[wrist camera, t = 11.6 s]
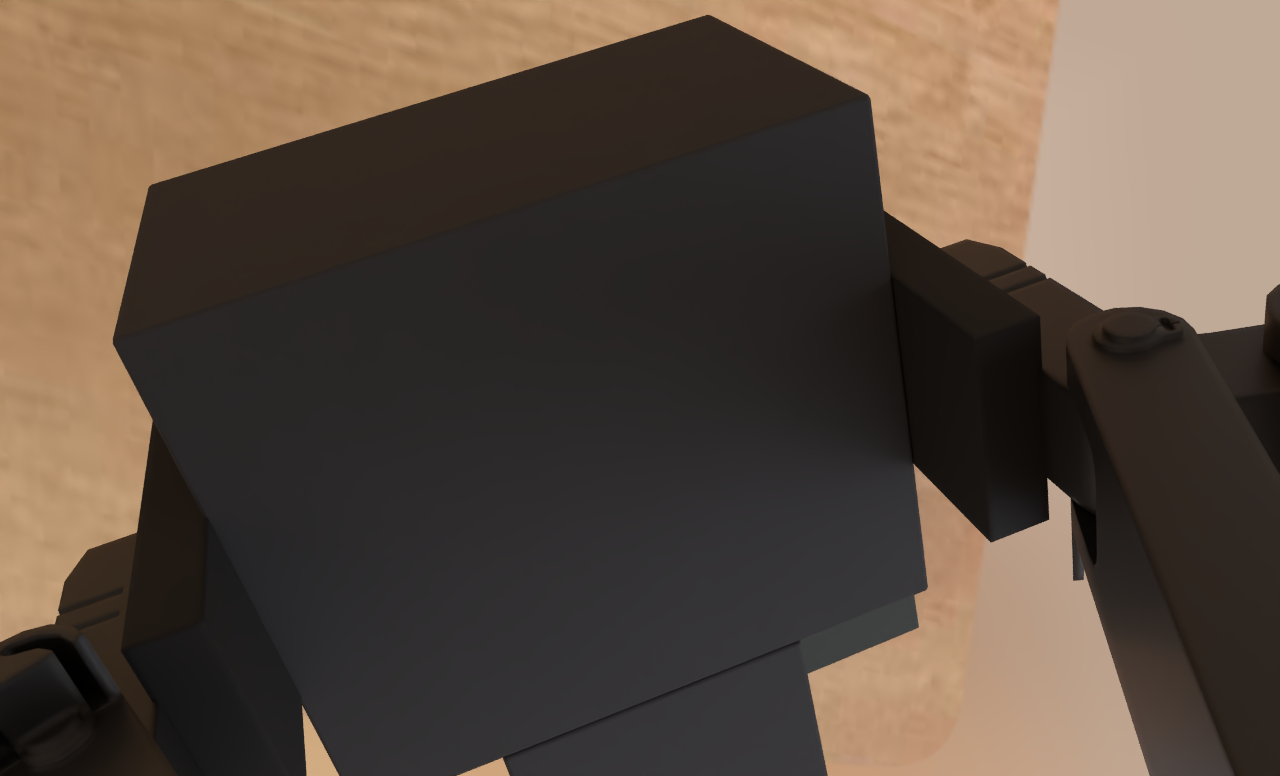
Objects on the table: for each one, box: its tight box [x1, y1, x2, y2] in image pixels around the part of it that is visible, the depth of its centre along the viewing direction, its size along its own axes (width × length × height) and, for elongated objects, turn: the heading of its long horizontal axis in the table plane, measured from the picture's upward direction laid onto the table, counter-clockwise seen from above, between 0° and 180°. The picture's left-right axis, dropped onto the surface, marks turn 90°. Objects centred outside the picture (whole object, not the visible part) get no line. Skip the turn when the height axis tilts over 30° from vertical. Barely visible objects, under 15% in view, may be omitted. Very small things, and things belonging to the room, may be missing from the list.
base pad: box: [800, 595, 919, 674], centre depth 36 cm, size 11×10×3 cm
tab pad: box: [113, 15, 928, 776], centre depth 16 cm, size 8×11×5 cm
